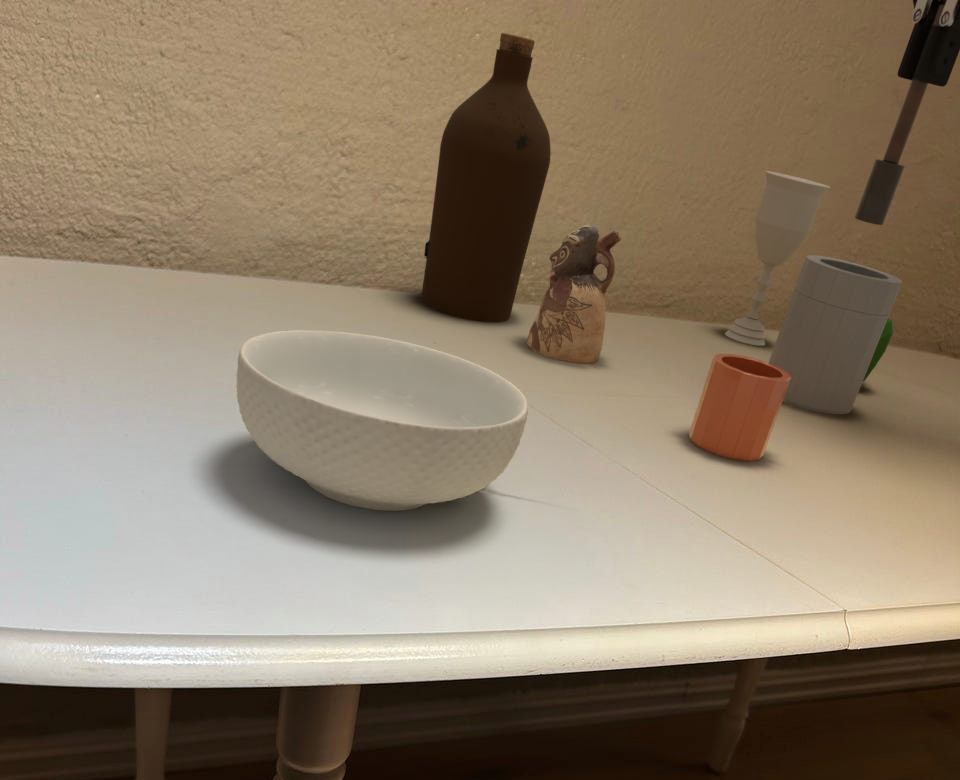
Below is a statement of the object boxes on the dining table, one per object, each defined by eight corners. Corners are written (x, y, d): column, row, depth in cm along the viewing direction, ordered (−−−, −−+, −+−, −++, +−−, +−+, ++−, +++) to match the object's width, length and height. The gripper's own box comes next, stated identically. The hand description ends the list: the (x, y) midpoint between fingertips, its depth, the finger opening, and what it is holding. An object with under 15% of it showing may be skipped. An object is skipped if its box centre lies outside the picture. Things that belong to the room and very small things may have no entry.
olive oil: (534, 321, 110) (594, 54, 97) (477, 330, 101) (536, 40, 89) (453, 291, 114) (502, 32, 102) (393, 298, 106) (438, 17, 93)
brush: (878, 222, 95) (957, 10, 87) (886, 226, 93) (968, 9, 85) (851, 216, 95) (927, 3, 87) (858, 220, 93) (938, 1, 85)
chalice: (711, 337, 122) (763, 172, 113) (717, 327, 127) (767, 169, 118) (772, 354, 120) (829, 189, 111) (776, 343, 126) (831, 185, 117)
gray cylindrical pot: (836, 397, 108) (885, 270, 102) (859, 425, 100) (914, 288, 94) (752, 379, 108) (797, 249, 101) (769, 405, 100) (819, 266, 93)
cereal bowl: (559, 522, 64) (588, 413, 61) (346, 571, 53) (367, 440, 50) (385, 421, 74) (402, 321, 70) (173, 444, 62) (180, 327, 59)
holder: (752, 446, 87) (781, 364, 83) (766, 472, 82) (798, 386, 78) (682, 431, 87) (709, 348, 83) (692, 456, 81) (721, 369, 78)
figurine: (537, 338, 103) (566, 212, 98) (604, 359, 102) (638, 231, 96) (515, 351, 97) (545, 217, 91) (587, 373, 96) (622, 238, 90)
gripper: (1136, -180, 75) (1019, 102, 84) (984, -165, 87) (897, 80, 96) (1061, -213, 72) (948, 83, 81) (915, -192, 84) (831, 63, 93)
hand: (921, 80), depth 89 cm, fingers closed on brush, 1 cm apart
